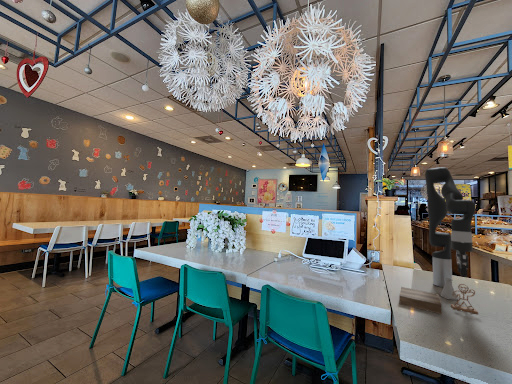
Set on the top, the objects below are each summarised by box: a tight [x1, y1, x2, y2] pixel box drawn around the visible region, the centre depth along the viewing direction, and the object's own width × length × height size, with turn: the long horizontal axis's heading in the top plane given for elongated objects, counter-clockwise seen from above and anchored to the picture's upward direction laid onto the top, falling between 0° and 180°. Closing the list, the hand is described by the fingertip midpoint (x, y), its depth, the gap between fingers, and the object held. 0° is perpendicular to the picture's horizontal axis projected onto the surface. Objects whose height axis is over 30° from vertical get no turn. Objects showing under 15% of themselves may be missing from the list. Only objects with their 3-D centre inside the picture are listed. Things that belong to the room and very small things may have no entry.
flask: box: [439, 278, 459, 301], centre depth 118 cm, size 7×7×10 cm
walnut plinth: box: [399, 286, 443, 315], centre depth 110 cm, size 16×16×4 cm
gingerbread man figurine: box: [450, 283, 479, 315], centre depth 104 cm, size 9×4×12 cm, turn 58°
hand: (462, 274), depth 105 cm, fingers open, 8 cm apart
